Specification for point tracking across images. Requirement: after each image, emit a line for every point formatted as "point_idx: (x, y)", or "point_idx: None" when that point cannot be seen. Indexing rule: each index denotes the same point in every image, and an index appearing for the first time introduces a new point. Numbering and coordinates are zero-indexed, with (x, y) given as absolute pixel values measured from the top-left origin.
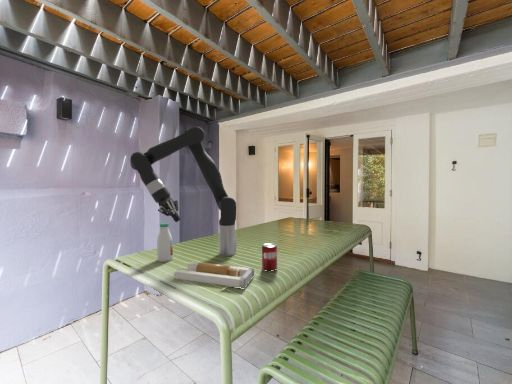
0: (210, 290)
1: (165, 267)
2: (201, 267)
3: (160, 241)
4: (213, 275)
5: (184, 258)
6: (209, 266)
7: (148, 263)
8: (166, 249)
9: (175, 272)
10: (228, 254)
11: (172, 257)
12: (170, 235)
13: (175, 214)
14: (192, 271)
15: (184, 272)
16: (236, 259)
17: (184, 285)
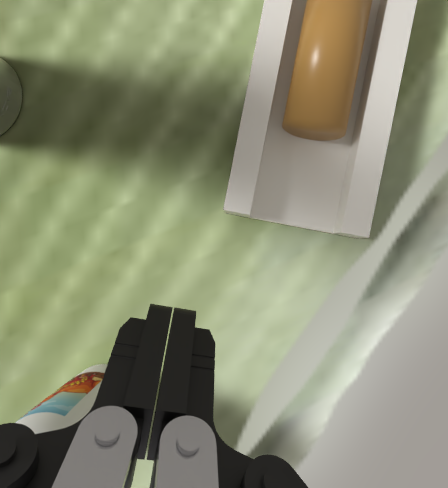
0: (441, 45)
1: None
2: (348, 98)
3: None
4: (401, 25)
5: (76, 307)
6: (352, 50)
7: None
8: None
9: (369, 230)
10: (15, 77)
11: (96, 366)
12: None
13: (176, 398)
14: (359, 146)
15: (376, 181)
16: (69, 26)
17: (404, 172)
